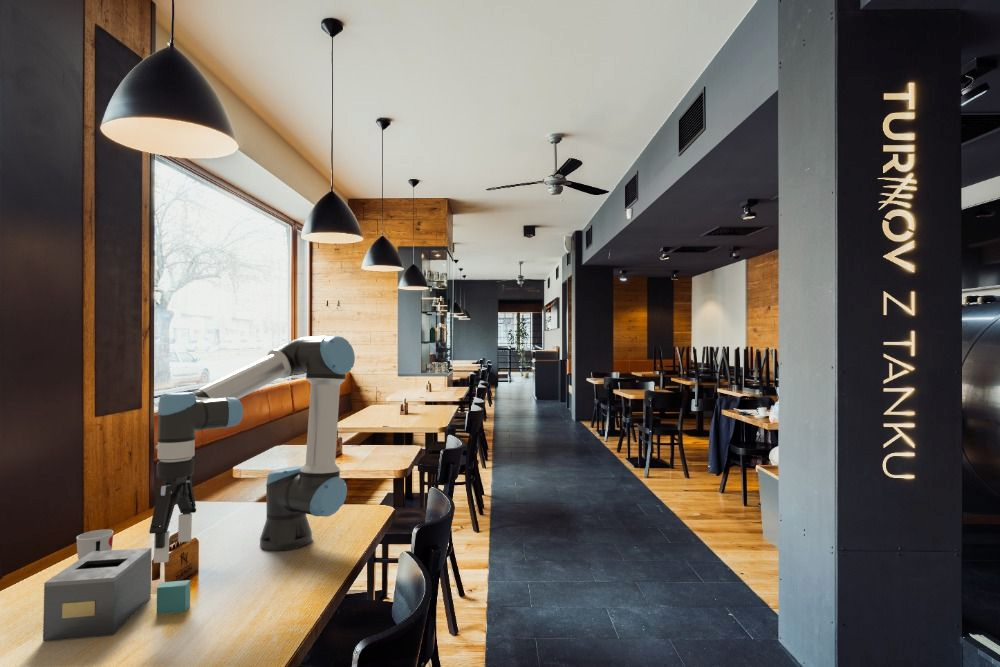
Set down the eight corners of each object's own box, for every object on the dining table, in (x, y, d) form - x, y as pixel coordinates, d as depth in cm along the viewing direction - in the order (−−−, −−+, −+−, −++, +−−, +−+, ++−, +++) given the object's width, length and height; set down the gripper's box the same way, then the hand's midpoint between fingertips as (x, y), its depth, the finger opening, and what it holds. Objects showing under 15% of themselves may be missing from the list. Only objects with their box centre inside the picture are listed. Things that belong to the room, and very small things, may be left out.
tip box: (150, 597, 133) (151, 547, 133) (112, 635, 115) (113, 577, 115) (90, 602, 130) (91, 551, 131) (42, 642, 112) (43, 583, 113)
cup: (92, 578, 144) (93, 540, 144) (67, 576, 146) (68, 538, 146) (120, 566, 152) (120, 530, 152) (95, 564, 154) (96, 528, 154)
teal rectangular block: (190, 606, 128) (190, 580, 129) (185, 611, 126) (185, 585, 126) (162, 608, 127) (162, 582, 128) (156, 614, 124) (156, 587, 125)
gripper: (179, 450, 139) (176, 534, 138) (132, 470, 115) (130, 573, 114) (210, 449, 141) (209, 533, 140) (172, 469, 116) (169, 570, 115)
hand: (173, 551), depth 127 cm, fingers open, 13 cm apart
